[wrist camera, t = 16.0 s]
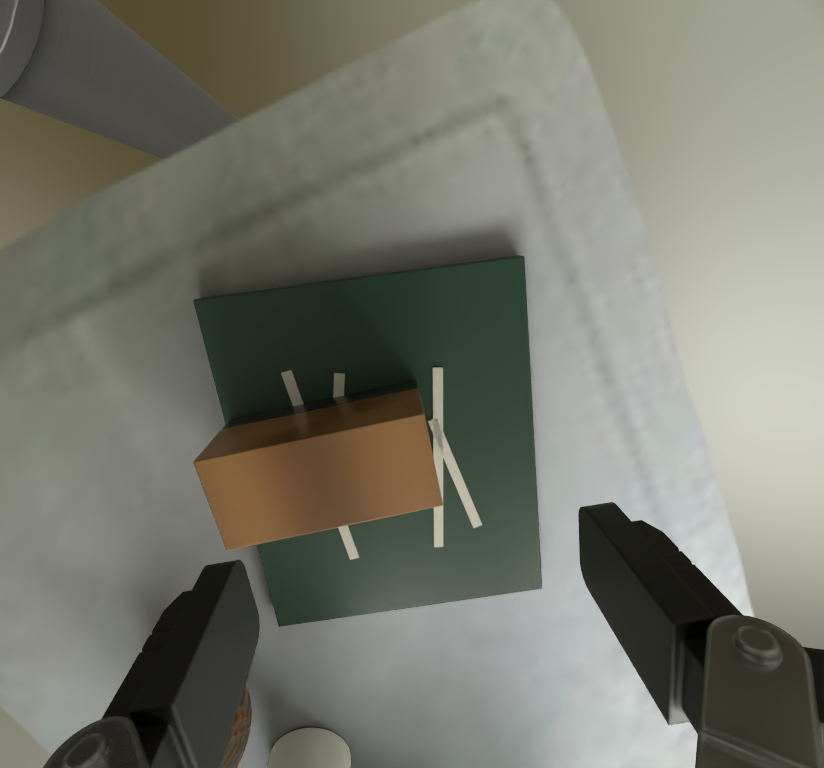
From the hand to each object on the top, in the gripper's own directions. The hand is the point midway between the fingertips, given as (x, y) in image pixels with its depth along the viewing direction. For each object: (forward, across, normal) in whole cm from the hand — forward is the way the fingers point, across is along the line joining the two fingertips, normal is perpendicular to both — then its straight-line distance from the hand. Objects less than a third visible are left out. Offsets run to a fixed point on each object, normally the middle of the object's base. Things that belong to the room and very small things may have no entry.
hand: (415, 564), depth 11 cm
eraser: (+16, +4, +4) cm, 17 cm away
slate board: (+18, +1, +6) cm, 18 cm away
